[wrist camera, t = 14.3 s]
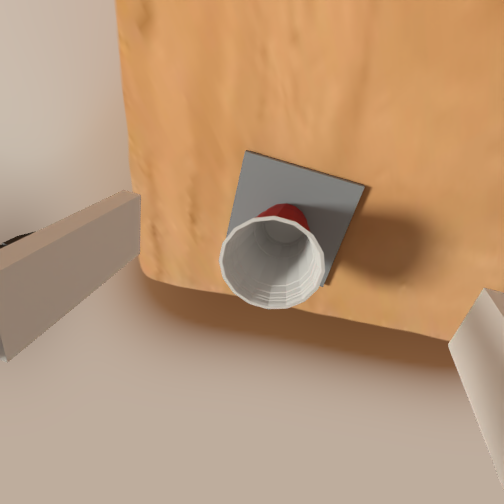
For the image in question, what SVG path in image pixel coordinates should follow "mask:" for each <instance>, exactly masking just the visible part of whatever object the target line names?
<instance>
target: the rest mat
mask: <svg viewBox="0 0 504 504" xmlns="http://www.w3.org/2000/svg"><path fill="white" fill-rule="evenodd" d="M364 187H365V186H364V185H362V184H358V183H355V182H352V181H348V180H345V179H342V178H338V177H335V176H332V175H328V174H325V173H321V172H318V171H315V170H311V169H308V168H305V167H301V166H298V165H295V164H291V163H288V162H284V161H281V160H278V159H274V158H271V157H268V156H264V155H261V154H258V153H254V152H251V151H247V150H246V151H245V154H244V159H243V163H242V168H241V173H240V177H239V182H238V186H237V191H236V195H235V200H234V204H233V209H232V213H231V218H230V223H229V227H228V232H227V236H226V238H227V237H228V235H229V234H230V233H231V232H232V230H233V229H234V228H235V227H237V226H239V225H241V224H243V223H245V222H246V221H248V220H250V219H252V218H255V217H257V216H258V215H259V214H261V213H262V212H264V211H266V210H267V209H269V208H270V207H272V206H274V205H276V204H285V203H287V204H290V205H294V206H296V207H297V208H298V209H299V210H301V211H302V212H303V214H304V216H305V218H306V219H307V224H308V226H309V229H310V233H312V234H313V235H314V237H315V238H316V240H317V242H318V244H319V245H320V247H321V249H322V251H323V252H324V263H325V273H324V276H323V278H322V281H321V283H320V286H321V287H323V285H324V283H325V281H326V278H327V276H328V273H329V271H330V269H331V266H332V264H333V261H334V259H335V257H336V254H337V252H338V250H339V247H340V245H341V242H342V240H343V238H344V235H345V233H346V230H347V228H348V226H349V223H350V221H351V218H352V216H353V214H354V211H355V209H356V207H357V204H358V202H359V199H360V197H361V195H362V192H363V190H364Z"/></svg>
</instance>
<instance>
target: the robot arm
mask: <svg viewBox="0 0 504 504" xmlns="http://www.w3.org/2000/svg"><path fill="white" fill-rule="evenodd" d="M140 211H141V195H140V194H136V193H133V192H129V191H125V190H123V191H121V192H118V193H116V194H114V195H112V196H110V197H108V198H106V199H104V200H102V201H100V202H97V203H95V204H93V205H91V206H89V207H87V208H85V209H83V210H81V211H78V212H77V213H74V214H72V215H70V216H68V217H66V218H64V219H62V220H60V221H58V222H55V223H54V224H51V225H49V226H47V227H45V228H43V229H41V230H39V231H37V232H32V233H28V234H24V235H20V236H17V237H15V238H12V239H10V240H8V241H6V242H4V243H2V245H0V360H2V361H5V362H9V361H10V360H11V359H12V358H13V357H15V356H16V355H17V354H18V353H20V352H21V351H22V350H23V349H24V348H26V347H27V346H28V345H29V344H30V343H32V342H33V341H34V340H35V339H37V338H38V337H39V336H40V335H41V334H43V333H44V332H45V331H46V330H47V329H48V328H50V327H51V326H52V325H54V324H55V323H56V322H57V321H59V320H60V319H61V318H62V317H63V316H65V315H66V314H67V313H68V312H69V311H71V310H72V309H73V308H74V307H75V306H77V305H78V304H79V303H80V302H81V301H83V300H84V299H85V298H86V297H88V296H89V295H90V294H91V293H93V292H94V291H95V290H96V289H97V288H98V287H100V286H101V285H102V284H103V283H105V282H106V281H107V280H108V279H110V278H111V277H112V276H113V275H114V274H116V273H117V272H118V271H119V270H121V269H122V268H123V267H124V266H125V265H127V264H128V263H129V262H130V261H132V260H133V259H134V258H135V257H136V256H138V255H139V254H140ZM448 346H449V349H450V352H451V355H452V357H453V360H454V362H455V365H456V368H457V370H458V373H459V375H460V378H461V381H462V383H463V386H464V388H465V391H466V394H467V396H468V399H469V402H470V404H471V407H472V409H473V412H474V415H475V417H476V420H477V422H478V425H479V428H480V430H481V433H482V435H483V438H484V441H485V443H486V446H487V449H488V451H489V454H490V456H491V459H492V461H493V464H494V467H495V469H496V472H497V475H498V477H499V480H500V482H501V485H502V488H503V490H504V293H502V292H498V291H495V290H491V289H487V288H483V290H482V292H481V293H480V295H479V296H478V298H477V299H476V301H475V303H474V304H473V306H472V307H471V309H470V311H469V312H468V314H467V315H466V317H465V319H464V320H463V322H462V323H461V325H460V326H459V328H458V330H457V331H456V333H455V334H454V336H453V338H452V339H451V341H450V342H449V344H448Z"/></svg>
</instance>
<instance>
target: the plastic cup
mask: <svg viewBox="0 0 504 504" xmlns="http://www.w3.org/2000/svg"><path fill="white" fill-rule="evenodd" d="M219 263H220V268H221V272H222V276H223V279H224V280H225V282H226V283H227V285H228V286H229V287H230V289H231V290H232V292H233V293H234V294H236V295H237V296H239V297H240V298H242V299H243V300H245V301H246V302H247V303H249V304H252V305H256V306H259V307H262V308H266V309H283V308H289V307H292V306H295V305H297V304H300V303H302V302H305V301H306V300H307V299H308V298H309V297H310V296H311V295H312V294H313V293H314V292H315V291H316V290H317V289H318V288H319V286H320V283H321V281H322V278H323V276H324V273H325V263H324V252H323V251H322V249H321V247H320V245H319V244H318V242H317V240H316V238H315V237H314V235H313V234H312V233H310V229H309V226H308V224H307V219H306V218H305V216H304V214H303V212H302V211H301V210H299V209H298V208H297V207H296V206H294V205H290V204H287V203H285V204H276V205H274V206H272V207H270V208H269V209H267V210H266V211H264V212H262V213H261V214H259V215H258V216H257V217H255V218H252V219H250V220H248V221H246V222H245V223H243V224H241V225H239V226H237V227H235V228H234V229H233V230H232V232H231V233H230V234H229V235H228V237H227V238H226V239H225V241H224V242H223V244H222V248H221V253H220V258H219Z"/></svg>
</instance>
